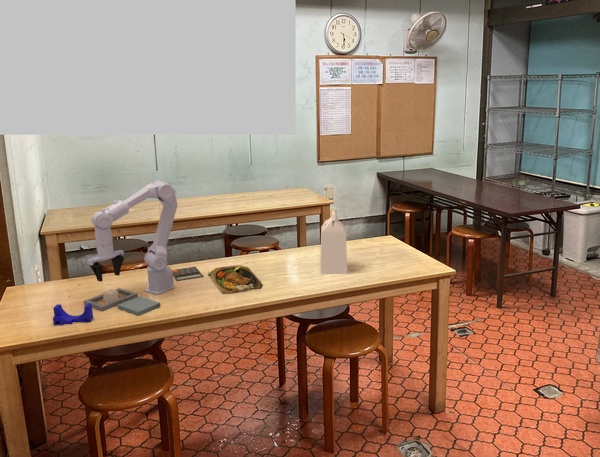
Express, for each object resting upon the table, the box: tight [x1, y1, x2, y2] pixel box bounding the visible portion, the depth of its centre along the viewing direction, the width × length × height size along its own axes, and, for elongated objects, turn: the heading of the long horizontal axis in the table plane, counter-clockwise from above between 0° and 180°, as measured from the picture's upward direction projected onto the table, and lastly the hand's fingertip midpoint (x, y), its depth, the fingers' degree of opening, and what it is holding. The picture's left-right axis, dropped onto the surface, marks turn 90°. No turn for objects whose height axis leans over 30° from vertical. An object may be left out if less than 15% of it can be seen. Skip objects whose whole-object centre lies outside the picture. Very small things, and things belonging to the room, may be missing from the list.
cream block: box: [102, 288, 120, 304], centre depth 200 cm, size 4×4×4 cm
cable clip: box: [52, 303, 94, 326], centre depth 182 cm, size 12×4×6 cm, turn 93°
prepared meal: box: [207, 264, 264, 295], centre depth 220 cm, size 28×4×18 cm
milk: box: [320, 210, 348, 275], centre depth 228 cm, size 12×12×26 cm
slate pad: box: [116, 295, 161, 317], centre depth 193 cm, size 10×12×2 cm
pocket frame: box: [83, 287, 139, 312], centre depth 200 cm, size 16×12×2 cm
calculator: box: [171, 266, 204, 282], centre depth 229 cm, size 12×1×15 cm
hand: (108, 278), depth 198 cm, fingers open, 7 cm apart
